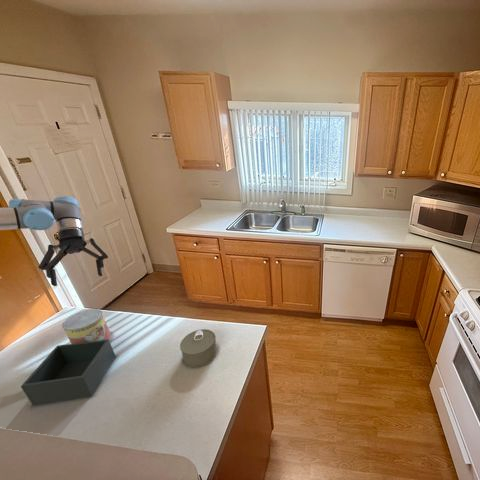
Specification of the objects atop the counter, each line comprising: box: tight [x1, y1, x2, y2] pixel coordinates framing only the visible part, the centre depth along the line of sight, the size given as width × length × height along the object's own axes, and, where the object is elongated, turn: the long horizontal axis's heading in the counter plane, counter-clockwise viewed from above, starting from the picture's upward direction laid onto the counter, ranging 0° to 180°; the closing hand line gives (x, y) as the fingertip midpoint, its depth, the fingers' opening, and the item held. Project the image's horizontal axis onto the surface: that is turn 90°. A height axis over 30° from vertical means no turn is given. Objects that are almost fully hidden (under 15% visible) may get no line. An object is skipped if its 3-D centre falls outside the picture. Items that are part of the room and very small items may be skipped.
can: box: [179, 328, 218, 368], centre depth 95 cm, size 12×12×7 cm
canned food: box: [61, 308, 112, 344], centre depth 97 cm, size 11×11×12 cm
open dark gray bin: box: [20, 339, 117, 406], centre depth 84 cm, size 15×15×9 cm
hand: (78, 280), depth 99 cm, fingers open, 13 cm apart
